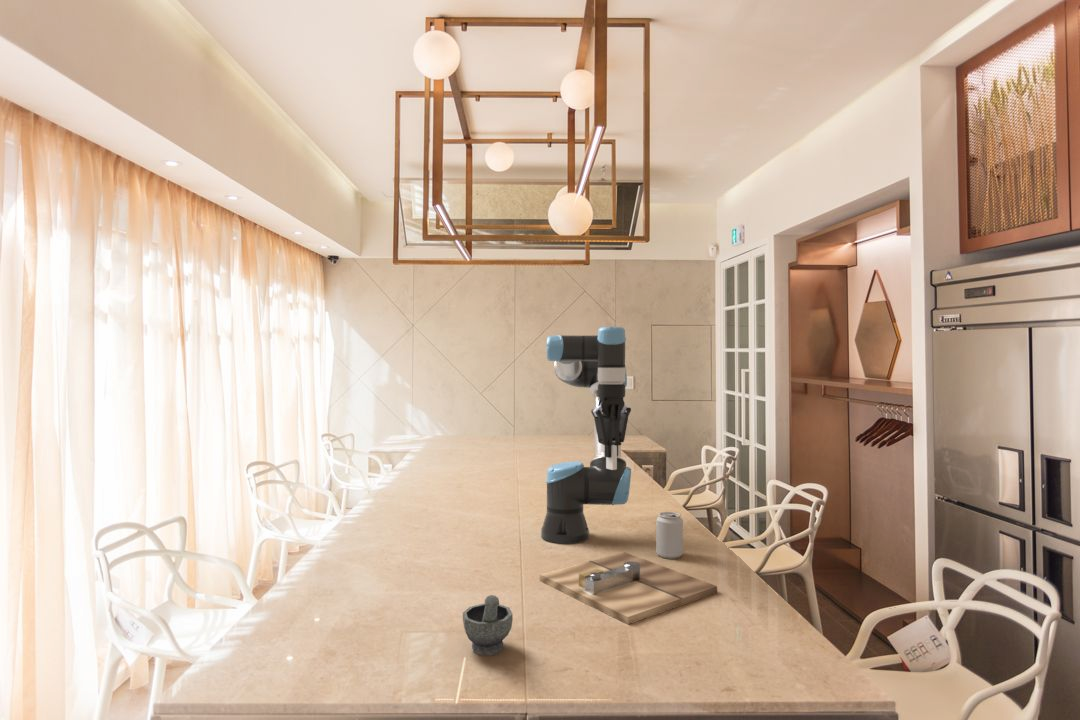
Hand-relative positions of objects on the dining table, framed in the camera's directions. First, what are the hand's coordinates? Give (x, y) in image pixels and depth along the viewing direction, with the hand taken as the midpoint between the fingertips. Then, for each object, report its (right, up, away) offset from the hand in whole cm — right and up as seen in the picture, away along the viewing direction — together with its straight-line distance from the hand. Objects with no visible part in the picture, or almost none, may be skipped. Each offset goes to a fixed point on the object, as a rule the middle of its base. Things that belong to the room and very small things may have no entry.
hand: (611, 468), depth 170 cm
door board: (+2, -27, -16) cm, 31 cm away
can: (+18, -27, +8) cm, 33 cm away
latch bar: (-2, -25, -19) cm, 31 cm away
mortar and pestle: (-30, -27, -49) cm, 63 cm away
